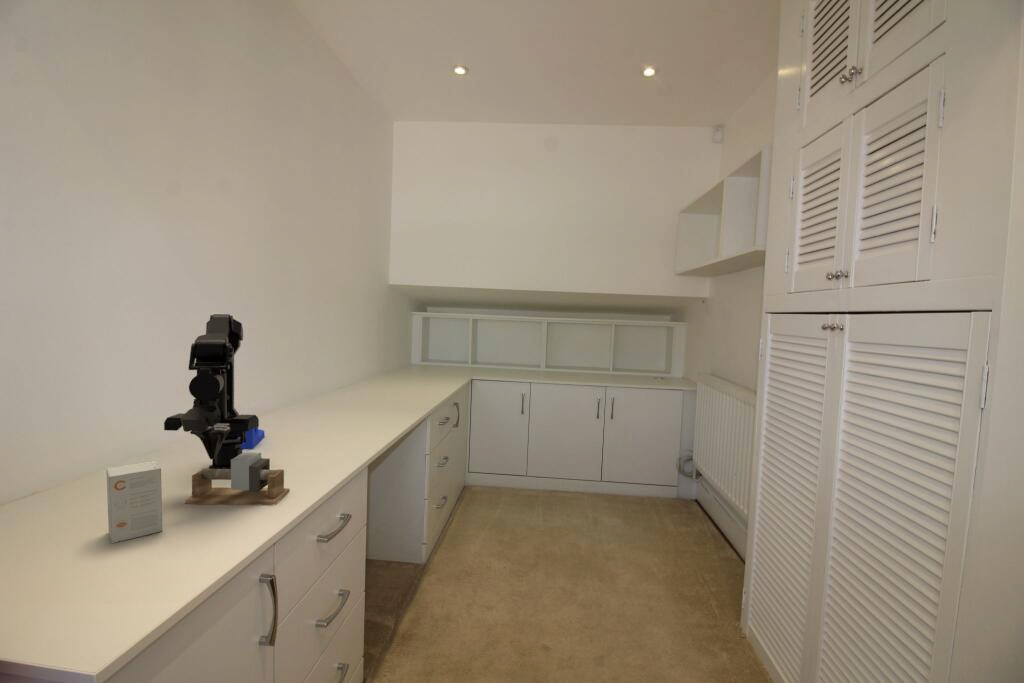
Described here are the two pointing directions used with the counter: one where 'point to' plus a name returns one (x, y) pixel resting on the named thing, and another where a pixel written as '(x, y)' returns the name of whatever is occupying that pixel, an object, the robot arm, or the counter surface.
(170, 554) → the counter surface
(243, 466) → the sleeve
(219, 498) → the wooden rail stand
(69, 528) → the counter surface
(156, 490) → the small box
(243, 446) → the bracket
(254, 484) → the collar
